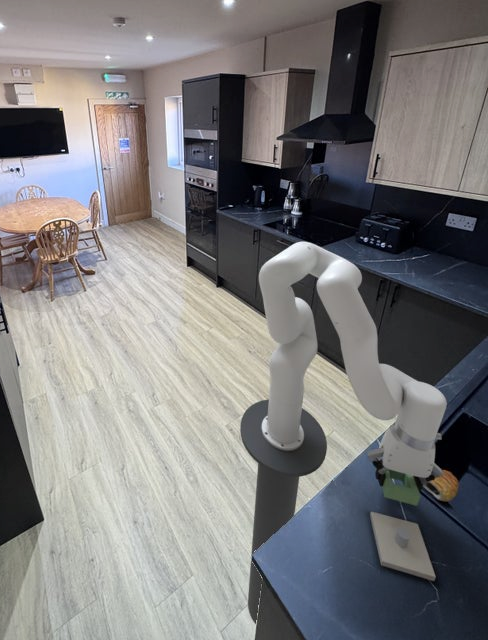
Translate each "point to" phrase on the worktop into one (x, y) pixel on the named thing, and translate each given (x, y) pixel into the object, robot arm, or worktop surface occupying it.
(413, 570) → the base pad
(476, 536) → the worktop surface
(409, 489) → the green hollow square block
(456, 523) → the worktop surface
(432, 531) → the worktop surface
